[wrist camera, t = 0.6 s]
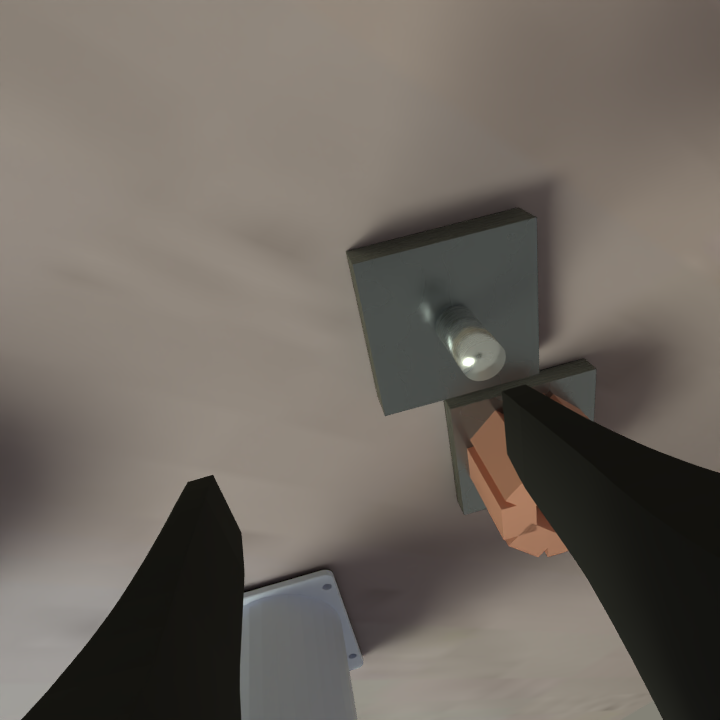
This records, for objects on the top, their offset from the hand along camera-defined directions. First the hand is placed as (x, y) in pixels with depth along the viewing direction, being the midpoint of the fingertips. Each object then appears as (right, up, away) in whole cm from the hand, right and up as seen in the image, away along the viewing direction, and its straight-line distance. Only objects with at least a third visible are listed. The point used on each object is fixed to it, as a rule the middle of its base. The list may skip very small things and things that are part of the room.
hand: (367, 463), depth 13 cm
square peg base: (+3, +5, +9) cm, 11 cm away
